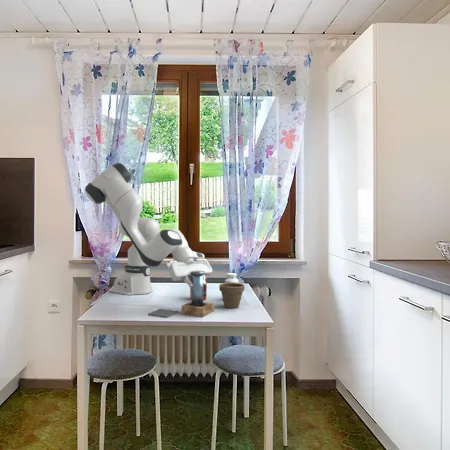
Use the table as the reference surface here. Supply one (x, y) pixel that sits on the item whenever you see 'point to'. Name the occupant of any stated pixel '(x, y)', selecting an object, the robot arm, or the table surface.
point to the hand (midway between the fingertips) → (198, 285)
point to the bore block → (197, 309)
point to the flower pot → (231, 294)
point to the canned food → (203, 289)
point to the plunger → (197, 287)
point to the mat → (163, 313)
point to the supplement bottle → (231, 278)
